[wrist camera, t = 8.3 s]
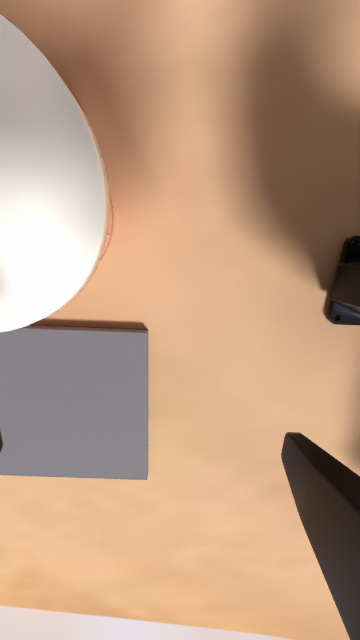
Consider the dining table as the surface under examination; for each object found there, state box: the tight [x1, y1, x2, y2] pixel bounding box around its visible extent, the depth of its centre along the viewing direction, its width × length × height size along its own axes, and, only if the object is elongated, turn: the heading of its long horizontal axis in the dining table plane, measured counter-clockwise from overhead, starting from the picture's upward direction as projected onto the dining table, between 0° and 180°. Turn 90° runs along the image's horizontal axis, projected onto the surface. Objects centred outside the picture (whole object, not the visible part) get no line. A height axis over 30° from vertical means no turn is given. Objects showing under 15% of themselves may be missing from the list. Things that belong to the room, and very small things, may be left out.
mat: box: [0, 325, 148, 480], centre depth 21 cm, size 15×15×1 cm
